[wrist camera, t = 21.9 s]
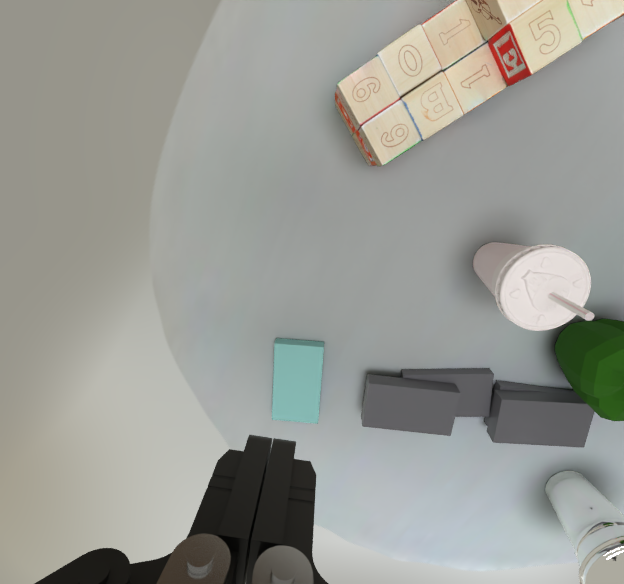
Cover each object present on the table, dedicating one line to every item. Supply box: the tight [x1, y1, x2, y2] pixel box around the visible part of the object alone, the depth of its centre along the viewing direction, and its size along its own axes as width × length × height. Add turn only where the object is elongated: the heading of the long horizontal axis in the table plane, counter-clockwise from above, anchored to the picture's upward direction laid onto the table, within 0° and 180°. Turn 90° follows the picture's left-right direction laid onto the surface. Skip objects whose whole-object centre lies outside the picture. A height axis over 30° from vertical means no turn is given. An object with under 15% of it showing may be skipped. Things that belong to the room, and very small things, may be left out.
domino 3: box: [401, 368, 494, 417], centre depth 41 cm, size 2×5×9 cm
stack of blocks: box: [335, 0, 624, 166], centre depth 27 cm, size 21×6×12 cm, turn 122°
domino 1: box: [272, 338, 324, 424], centre depth 41 cm, size 2×5×9 cm
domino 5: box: [487, 390, 594, 447], centre depth 39 cm, size 2×5×9 cm
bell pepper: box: [555, 319, 624, 421], centre depth 34 cm, size 8×8×10 cm
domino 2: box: [361, 374, 461, 436], centre depth 40 cm, size 2×5×9 cm
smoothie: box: [473, 242, 594, 331], centre depth 30 cm, size 6×6×14 cm
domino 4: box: [484, 380, 576, 426], centre depth 41 cm, size 2×5×9 cm
